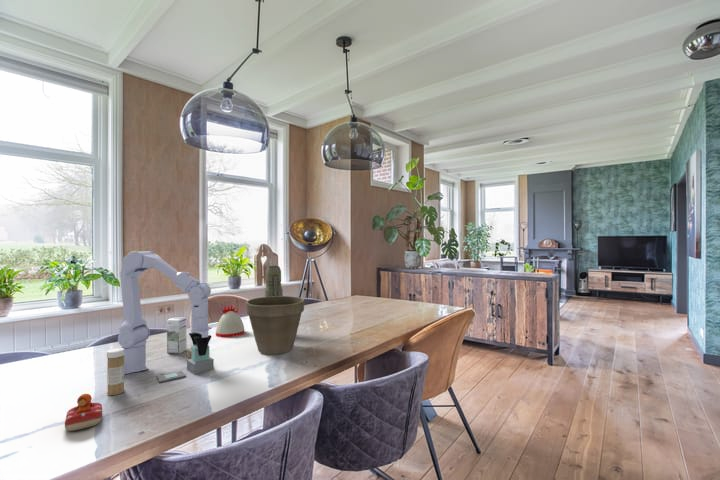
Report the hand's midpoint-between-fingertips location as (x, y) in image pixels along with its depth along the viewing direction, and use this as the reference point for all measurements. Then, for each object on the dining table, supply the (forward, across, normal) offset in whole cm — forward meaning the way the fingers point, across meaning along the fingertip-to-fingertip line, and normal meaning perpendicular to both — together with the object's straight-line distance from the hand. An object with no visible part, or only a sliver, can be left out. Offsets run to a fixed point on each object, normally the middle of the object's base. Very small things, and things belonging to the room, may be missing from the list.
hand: (200, 353), depth 130 cm
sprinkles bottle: (+6, -5, +26) cm, 27 cm away
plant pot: (+6, +4, -32) cm, 33 cm away
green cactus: (+6, +28, -42) cm, 51 cm away
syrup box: (+6, +30, +2) cm, 31 cm away
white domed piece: (+6, +46, -26) cm, 53 cm away
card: (+6, -2, +10) cm, 12 cm away
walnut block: (+6, +11, -1) cm, 13 cm away
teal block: (+2, 0, 0) cm, 2 cm away
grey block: (+6, 0, 0) cm, 6 cm away
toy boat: (+6, -23, +34) cm, 41 cm away
